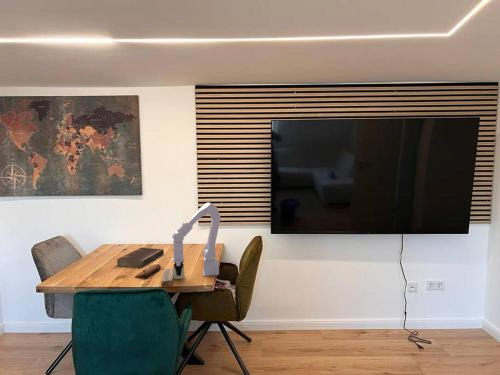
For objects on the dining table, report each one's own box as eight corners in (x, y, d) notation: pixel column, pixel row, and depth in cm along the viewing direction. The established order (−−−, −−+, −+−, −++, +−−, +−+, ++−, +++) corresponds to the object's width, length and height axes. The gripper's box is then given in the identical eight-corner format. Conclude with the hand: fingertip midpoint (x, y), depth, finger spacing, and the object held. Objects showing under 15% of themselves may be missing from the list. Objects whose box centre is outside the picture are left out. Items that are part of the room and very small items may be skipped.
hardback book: (142, 268, 201) (142, 260, 201) (117, 266, 205) (117, 259, 205) (163, 255, 229) (163, 248, 229) (141, 253, 233) (141, 247, 233)
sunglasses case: (149, 267, 200) (153, 259, 199) (157, 273, 199) (162, 265, 198) (133, 277, 183) (138, 269, 181) (142, 284, 182) (147, 275, 180)
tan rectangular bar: (173, 272, 192) (173, 268, 192) (172, 284, 172) (172, 280, 172) (163, 273, 190) (163, 269, 190) (161, 285, 171) (161, 281, 171)
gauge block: (184, 275, 186) (183, 263, 186) (184, 278, 181) (183, 266, 181) (173, 276, 185) (172, 264, 184) (172, 279, 180) (172, 267, 179)
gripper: (172, 248, 188) (172, 270, 189) (170, 255, 174) (171, 278, 175) (183, 248, 190) (184, 269, 191) (183, 254, 175) (184, 277, 177)
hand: (178, 273), depth 183 cm, fingers closed on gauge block, 5 cm apart
